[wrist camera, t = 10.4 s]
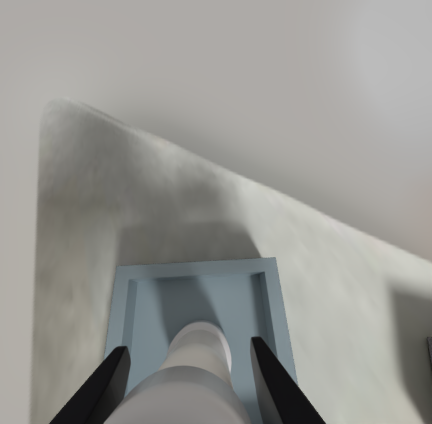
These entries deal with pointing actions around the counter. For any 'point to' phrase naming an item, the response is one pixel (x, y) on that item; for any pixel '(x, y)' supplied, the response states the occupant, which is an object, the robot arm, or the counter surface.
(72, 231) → the counter surface
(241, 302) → the parts tray
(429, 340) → the light bulb socket
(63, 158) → the counter surface
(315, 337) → the counter surface
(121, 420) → the white rounded column
